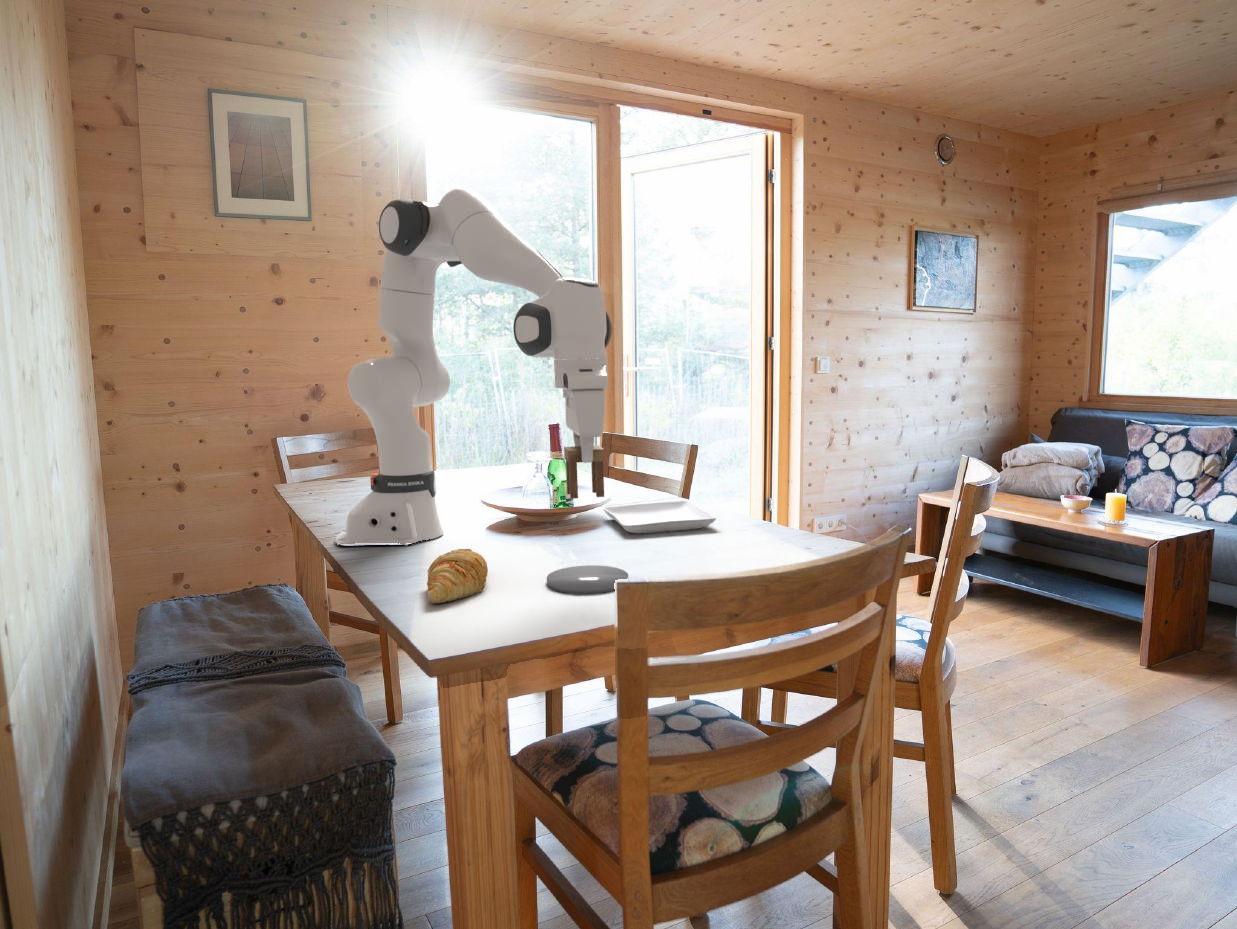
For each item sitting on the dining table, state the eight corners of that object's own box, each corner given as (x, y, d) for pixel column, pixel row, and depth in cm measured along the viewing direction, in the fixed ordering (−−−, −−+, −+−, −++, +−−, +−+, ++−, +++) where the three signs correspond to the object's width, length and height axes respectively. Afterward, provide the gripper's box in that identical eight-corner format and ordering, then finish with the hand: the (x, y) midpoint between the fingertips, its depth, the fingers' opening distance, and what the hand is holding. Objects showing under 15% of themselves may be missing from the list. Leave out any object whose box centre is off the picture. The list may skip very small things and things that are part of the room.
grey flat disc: (550, 596, 131) (550, 590, 131) (543, 573, 144) (543, 568, 144) (635, 590, 133) (635, 584, 133) (620, 568, 147) (620, 563, 147)
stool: (569, 498, 133) (568, 450, 132) (565, 493, 139) (564, 446, 138) (605, 496, 134) (604, 449, 133) (600, 491, 140) (598, 445, 139)
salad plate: (624, 539, 171) (623, 523, 170) (602, 520, 191) (601, 505, 191) (718, 532, 176) (718, 516, 175) (687, 513, 196) (687, 499, 196)
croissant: (451, 630, 126) (472, 587, 125) (396, 600, 127) (415, 557, 125) (494, 588, 147) (512, 551, 145) (446, 562, 148) (463, 525, 146)
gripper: (556, 375, 143) (558, 453, 145) (569, 378, 124) (572, 468, 125) (591, 374, 145) (593, 451, 146) (610, 377, 125) (612, 466, 126)
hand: (583, 459), depth 136 cm, fingers closed on stool, 6 cm apart
